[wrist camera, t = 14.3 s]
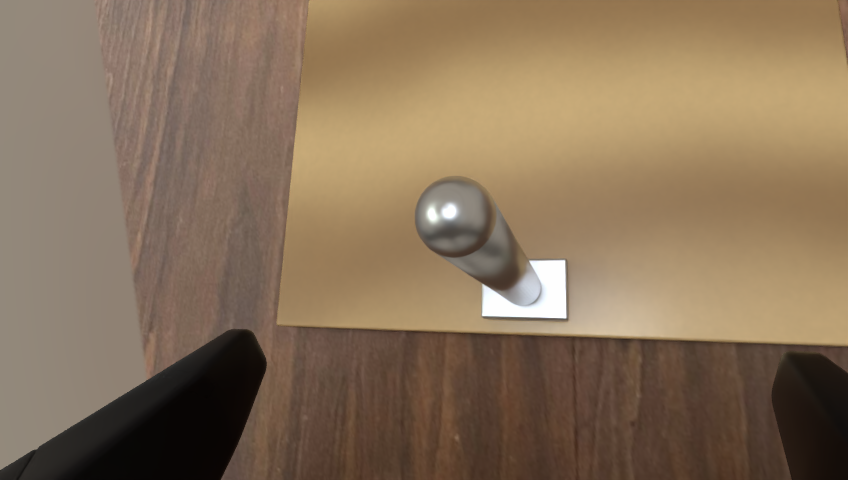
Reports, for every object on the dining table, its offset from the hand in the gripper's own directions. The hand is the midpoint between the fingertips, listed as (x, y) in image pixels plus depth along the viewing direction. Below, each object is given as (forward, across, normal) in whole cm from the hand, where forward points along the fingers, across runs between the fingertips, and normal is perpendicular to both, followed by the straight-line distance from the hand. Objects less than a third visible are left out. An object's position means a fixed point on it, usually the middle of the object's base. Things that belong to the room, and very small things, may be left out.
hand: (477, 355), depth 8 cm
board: (+22, 0, -8) cm, 23 cm away
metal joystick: (+8, 0, +5) cm, 9 cm away
